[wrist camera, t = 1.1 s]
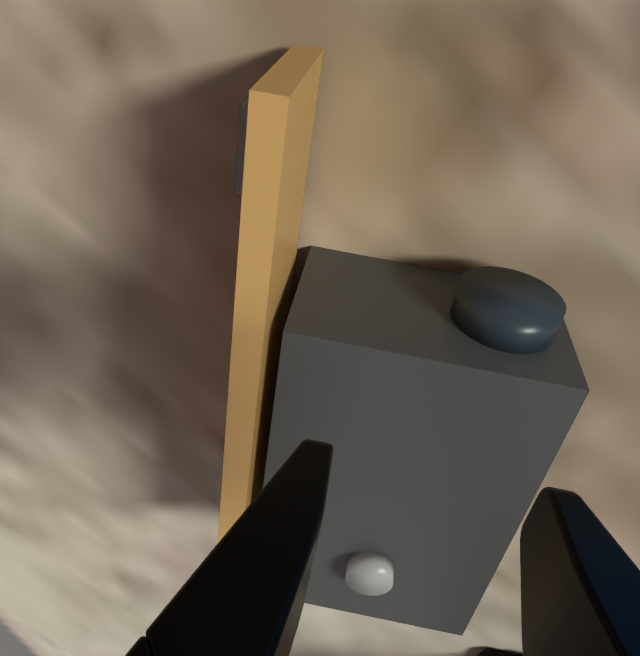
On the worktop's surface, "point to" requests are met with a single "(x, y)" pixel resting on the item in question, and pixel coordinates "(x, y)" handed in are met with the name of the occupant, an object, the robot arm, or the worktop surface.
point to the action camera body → (421, 425)
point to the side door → (265, 261)
